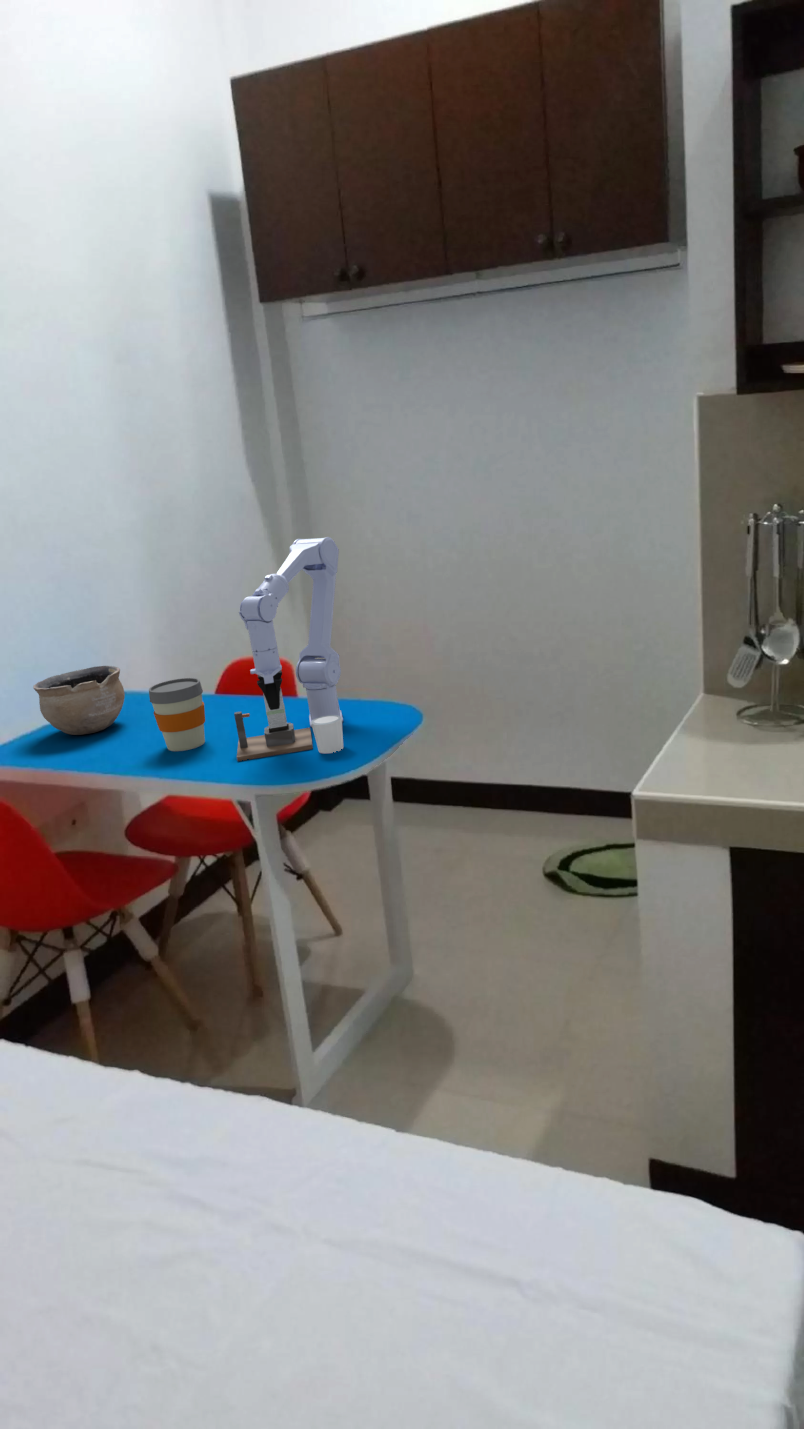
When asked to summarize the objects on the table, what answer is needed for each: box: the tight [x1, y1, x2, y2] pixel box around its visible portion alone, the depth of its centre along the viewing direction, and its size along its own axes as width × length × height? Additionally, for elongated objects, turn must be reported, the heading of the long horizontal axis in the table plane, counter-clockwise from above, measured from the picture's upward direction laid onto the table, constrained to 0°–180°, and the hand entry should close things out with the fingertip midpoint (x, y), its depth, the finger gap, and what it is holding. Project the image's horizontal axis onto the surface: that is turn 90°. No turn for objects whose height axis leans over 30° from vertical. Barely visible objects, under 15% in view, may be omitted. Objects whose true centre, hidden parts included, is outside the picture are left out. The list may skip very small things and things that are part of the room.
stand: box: [234, 711, 314, 762], centre depth 249 cm, size 14×17×9 cm
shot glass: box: [311, 715, 344, 755], centre depth 241 cm, size 7×7×7 cm
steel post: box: [262, 687, 288, 729], centre depth 248 cm, size 4×4×8 cm
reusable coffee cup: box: [148, 677, 206, 752], centre depth 259 cm, size 13×13×15 cm
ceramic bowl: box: [32, 665, 126, 736], centre depth 285 cm, size 22×22×15 cm
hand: (274, 706), depth 248 cm, fingers closed on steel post, 4 cm apart
